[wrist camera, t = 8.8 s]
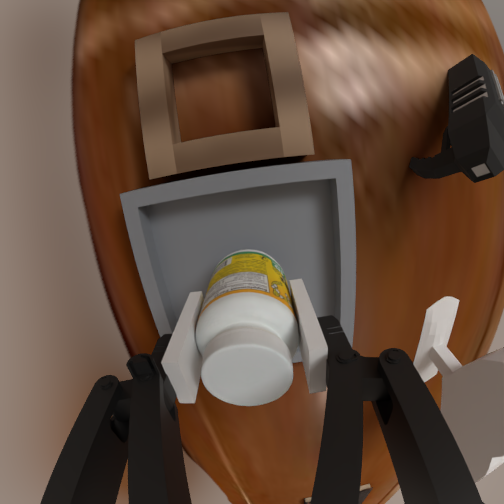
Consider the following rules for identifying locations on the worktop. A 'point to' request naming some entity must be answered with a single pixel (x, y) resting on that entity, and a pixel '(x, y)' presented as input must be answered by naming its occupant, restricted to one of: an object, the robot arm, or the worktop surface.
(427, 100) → the worktop surface
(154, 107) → the socket block
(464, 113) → the gun
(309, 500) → the hardcover book
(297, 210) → the tray
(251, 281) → the supplement bottle
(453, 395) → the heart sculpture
